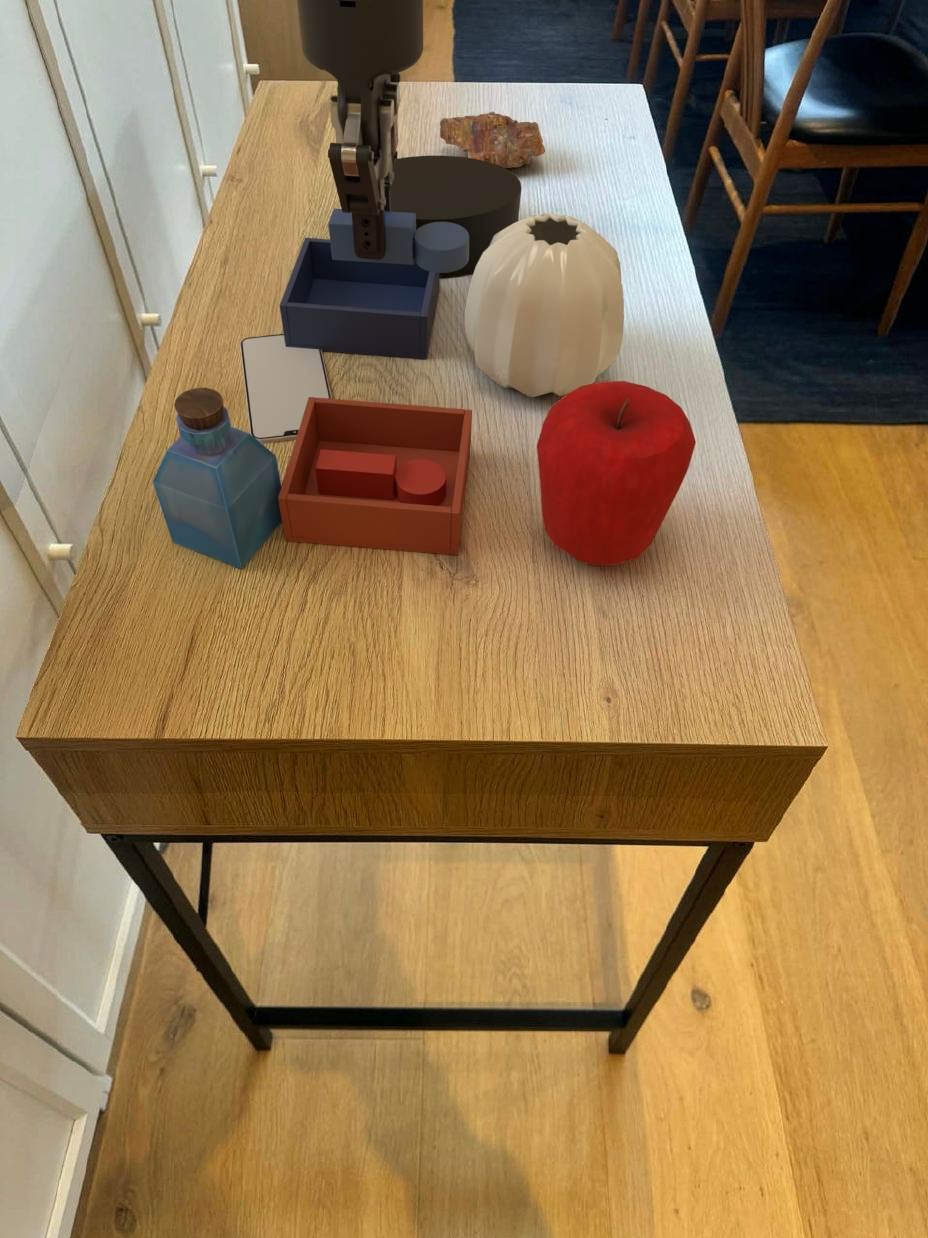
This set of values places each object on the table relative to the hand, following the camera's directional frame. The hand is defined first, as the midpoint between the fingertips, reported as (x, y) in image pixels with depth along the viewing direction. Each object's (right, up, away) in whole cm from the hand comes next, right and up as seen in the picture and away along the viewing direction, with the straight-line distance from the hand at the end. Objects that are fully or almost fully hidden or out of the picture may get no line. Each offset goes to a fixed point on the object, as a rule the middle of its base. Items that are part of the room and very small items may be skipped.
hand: (373, 245), depth 65 cm
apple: (+17, -21, +4) cm, 27 cm away
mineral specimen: (+10, +27, +41) cm, 51 cm away
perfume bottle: (-11, -21, +3) cm, 24 cm away
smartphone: (-9, -7, +14) cm, 18 cm away
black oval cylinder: (+3, +13, +30) cm, 33 cm away
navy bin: (-3, +2, +21) cm, 21 cm away
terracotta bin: (0, -17, +6) cm, 18 cm away
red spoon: (0, -17, +5) cm, 18 cm away
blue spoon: (+2, -1, 0) cm, 2 cm away
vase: (+14, -5, +17) cm, 22 cm away
